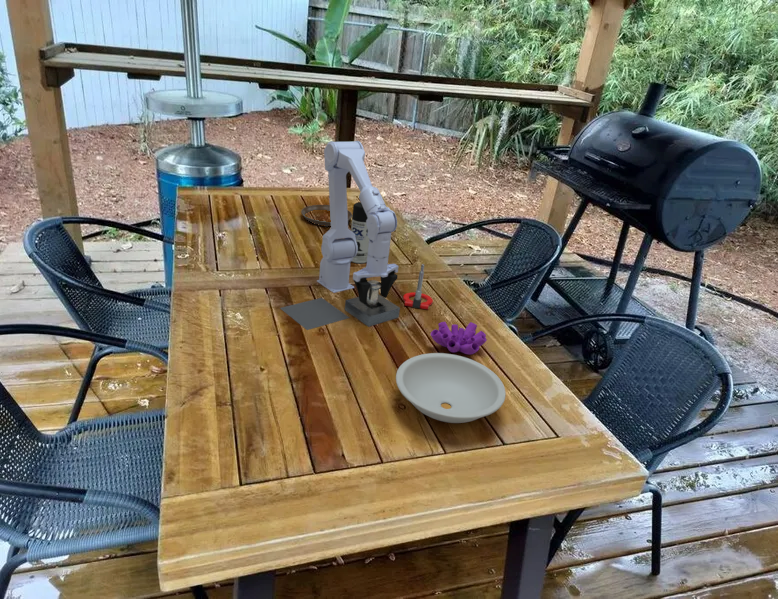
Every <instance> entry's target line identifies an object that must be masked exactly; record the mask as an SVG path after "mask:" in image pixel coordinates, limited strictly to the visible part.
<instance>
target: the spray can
mask: <svg viewBox="0 0 778 599" xmlns="http://www.w3.org/2000/svg"><path fill="white" fill-rule="evenodd" d="M352 206H353V207H352V217H351V226H350V227H351V228H350V230H351V231H352V232H353V233H354V234H355V237H356V242H357V245H358V252H357V255H356V256H355V257H353V261H351V262H350V263H355V264H360V265H361V264H362V265H363V264H367V255H368V246H369V238H368V229H367V225H366V220H367V219H368V217H367V215H366V213H365V210H364V208H363V206H362V204H361V201H358V202H355V203H354V204H352Z"/></svg>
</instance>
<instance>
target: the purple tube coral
mask: <svg viewBox="0 0 778 599" xmlns="http://www.w3.org/2000/svg"><path fill="white" fill-rule="evenodd" d="M477 328H478V325H477V324H476V323H473V321H472V322H471V321H470V322H469V323H468V324H467V326H466V327H465V328H464V327H459V325H458V324H456V323H455V324H451V330H450V327H449V326H448V324H447V323H446V321H441V322H439V323H438V329H436V328H435V329H433V330H432V331H431V332H430V336H431V338H432V340H433V341H434V342H435V343H437V344H438V345H440V346H442V347H445V348H447V349H448V351H449V352H451V353H458V352H460V353H462V354H465V355H474V354H475V353H477V352H478V351H479V350H480V347H481V346H482V345H484V344H485V343H486V342H487V341H488V340H487V335H486V333H485V332H484V331H483V330H480V331H479V332H477V333H476V330H477Z"/></svg>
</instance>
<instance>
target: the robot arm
mask: <svg viewBox="0 0 778 599" xmlns="http://www.w3.org/2000/svg"><path fill="white" fill-rule="evenodd" d="M323 155H324V171H326V172H327V174H328V178H327V181H328V196H329V198H328V199H329V205H330V220H331V227H330V228H329V229H328V230H327V231H326V232H325V233H324V234H323V235H322V241H321V242H322V243H321V246H320V247H321V248H320V250H321V255H322V258H321V260H320V262H319V263H320V264H319V276H318V277H319V278H318V279H317V280H316V282H317V283H318V284H320V285H321V286H323V287H324V288H325V289H327V290H329V291H330V292H332V293H334V294H335V293H339V292H344V291H348V290H351V289H355V288H356V290H357V294H358V297H359V301H360V302H362V303H363V304H365V303H366V301H367V294H368V290H369V288H370V286H371V284H370V283H369V282H368V281H369V280H368V279H370V278H375V277H380V283H381V288H380V289H379V292H380V294H379V295H381V296H382V297H384V298H385V299H387V298H388V294H389V293H390V290H391V288H392V286H393V285H394V283H395V282H396V281H397V279H398V274H397V273H399V266H400V265H398V264H396V263H389V255H390V248H391V247H390V246H391V242H392V241H391V239H392V233H393V232H395V231H396V229H397V227H398V219H397V215H396V212H395V211H394V210H392V209H390V207H389V206H387V205H386V203H385V201H384V199H383V197H382V194H381V192H380V190H379V188H377V187H376V186H373V184H372V181H371V179H370V175H369V173H368V170H367V167H366V164H365V162H364V161H365V158H366V157H365V156H366V151H365V148H364V146H363V143H361V141H359V140H355V141H332V140H330V141H328V142H327V144H326V146H325V147H324V149H323ZM348 173H349V174H350V175H351V178H352V179H353V180H354V182H355V184H356V185H357V186H356V187H357V188H358V190H359V191H360V192H359V194H358V199H359V202H361V204H362V206H363V208H364V210H365V213H366V215H367V217H368V219H367V220H366V225H367V229H368V238H369V246H368V255H367V262H366V265H365V267H363V268H362V269H359V270H358V271H354V272H353V273H352V281H353V282H354V285H355V286H356V287H355V286H354V285H352V284H351V283H350V272H351V263H352V262H351V261H353V257H355V256H356V255H357V252H358V245H357V242H356V237H355V234H354V233H353V232H352V231H351V229H350V228H349V221H348V212H347V210H348V193H347V192H348V191H347V175H348Z"/></svg>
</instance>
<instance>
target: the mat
mask: <svg viewBox="0 0 778 599" xmlns="http://www.w3.org/2000/svg"><path fill="white" fill-rule="evenodd" d="M279 309H280V310H281V311H283V312H284V313H285V314H286V315H288V316H289V317H290V318H291V319H292V320H294V321H295V322H296V323H297V324H299V325H300V326H301V327H303V328H304V329H305V330H306V331H308V330H313V329H316V328H320V327H323V326H327V325H329V324H333V323H337V322H340V321H343V320H347V319H348V320H349V319H350V316H348V315H347V314H345V313H344V312H342V311H341V310H340V309H338V308H337V307H335V306H334V305H332V304H331V303H330V302H329V301H327V300H326V299H325V298H324V297H320V298H315V299H310V300H307V301H303V302H299V303H295V304H291V305H286V306H282V307H280V308H279Z"/></svg>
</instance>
